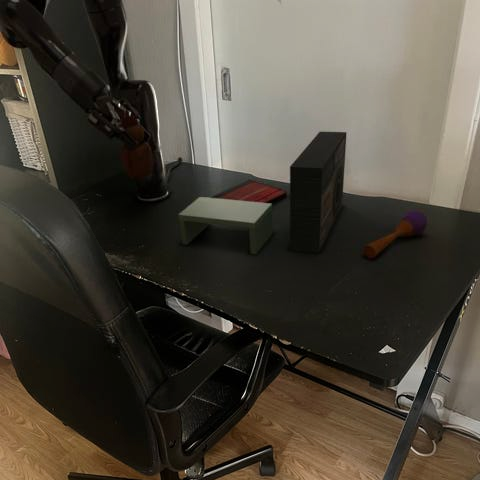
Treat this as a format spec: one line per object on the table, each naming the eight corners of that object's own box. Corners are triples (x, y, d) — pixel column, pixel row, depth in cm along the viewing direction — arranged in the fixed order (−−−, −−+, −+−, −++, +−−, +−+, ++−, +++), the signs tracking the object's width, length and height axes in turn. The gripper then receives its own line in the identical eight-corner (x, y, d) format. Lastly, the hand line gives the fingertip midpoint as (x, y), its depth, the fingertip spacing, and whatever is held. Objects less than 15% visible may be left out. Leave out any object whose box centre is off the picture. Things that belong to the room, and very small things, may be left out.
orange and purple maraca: (357, 238, 110) (409, 205, 119) (360, 261, 112) (410, 228, 122) (378, 241, 105) (431, 207, 114) (381, 265, 108) (432, 231, 117)
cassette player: (319, 253, 113) (321, 168, 102) (290, 250, 116) (289, 166, 104) (342, 206, 135) (346, 132, 124) (317, 204, 138) (319, 131, 126)
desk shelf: (203, 225, 131) (200, 196, 126) (272, 233, 124) (272, 203, 119) (182, 244, 122) (178, 214, 117) (255, 254, 115) (254, 223, 110)
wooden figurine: (130, 183, 107) (115, 112, 98) (122, 175, 111) (107, 106, 102) (158, 176, 109) (147, 106, 100) (150, 169, 113) (138, 100, 104)
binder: (202, 199, 140) (248, 178, 153) (202, 206, 142) (248, 185, 154) (244, 213, 131) (289, 189, 144) (244, 221, 133) (289, 197, 145)
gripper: (69, 75, 94) (136, 140, 97) (106, 64, 105) (165, 122, 108) (53, 105, 98) (118, 165, 102) (91, 90, 109) (147, 146, 113)
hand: (142, 143), depth 105 cm, fingers closed on wooden figurine, 5 cm apart
